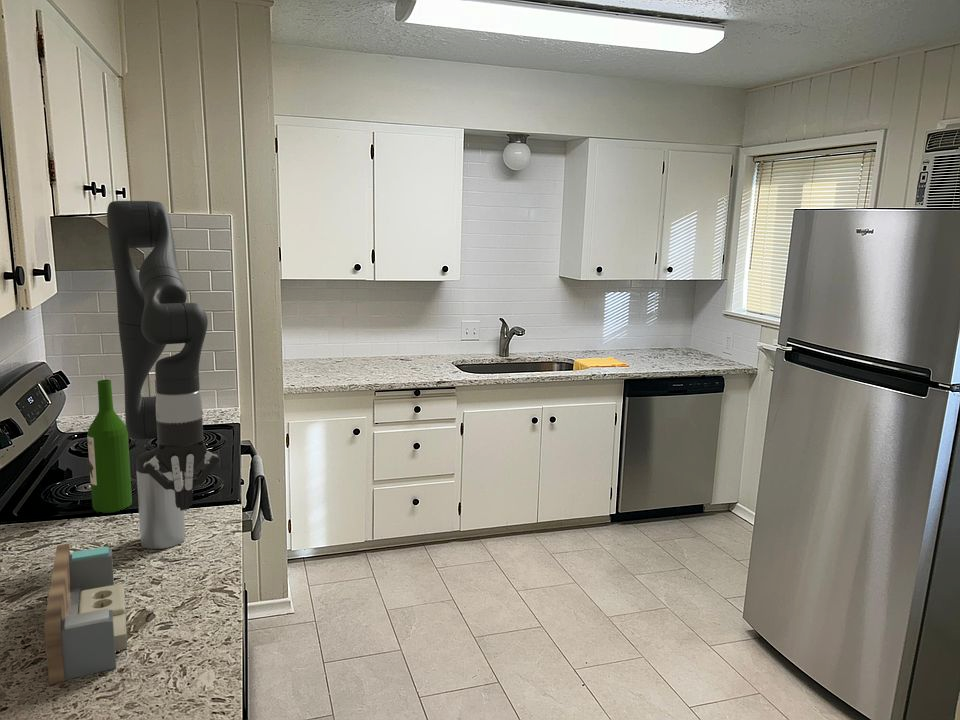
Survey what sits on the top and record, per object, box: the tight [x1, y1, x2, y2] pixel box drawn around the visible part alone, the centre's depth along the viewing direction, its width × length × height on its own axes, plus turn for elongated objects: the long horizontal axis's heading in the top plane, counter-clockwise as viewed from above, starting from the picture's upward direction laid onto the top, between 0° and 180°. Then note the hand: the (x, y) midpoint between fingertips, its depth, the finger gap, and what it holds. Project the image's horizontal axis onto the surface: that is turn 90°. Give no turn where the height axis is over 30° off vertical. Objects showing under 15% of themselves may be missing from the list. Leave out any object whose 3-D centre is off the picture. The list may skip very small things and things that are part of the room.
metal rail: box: [68, 584, 81, 616], centre depth 122 cm, size 22×2×4 cm, turn 27°
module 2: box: [61, 608, 117, 681], centre depth 111 cm, size 4×7×9 cm, turn 118°
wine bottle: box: [87, 379, 133, 514], centre depth 176 cm, size 9×9×32 cm
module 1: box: [69, 545, 115, 591], centre depth 134 cm, size 4×7×9 cm, turn 118°
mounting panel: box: [43, 543, 71, 686], centre depth 120 cm, size 31×2×10 cm, turn 28°
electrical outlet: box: [78, 583, 128, 652], centre depth 123 cm, size 7×4×18 cm
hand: (184, 508), depth 128 cm, fingers closed
